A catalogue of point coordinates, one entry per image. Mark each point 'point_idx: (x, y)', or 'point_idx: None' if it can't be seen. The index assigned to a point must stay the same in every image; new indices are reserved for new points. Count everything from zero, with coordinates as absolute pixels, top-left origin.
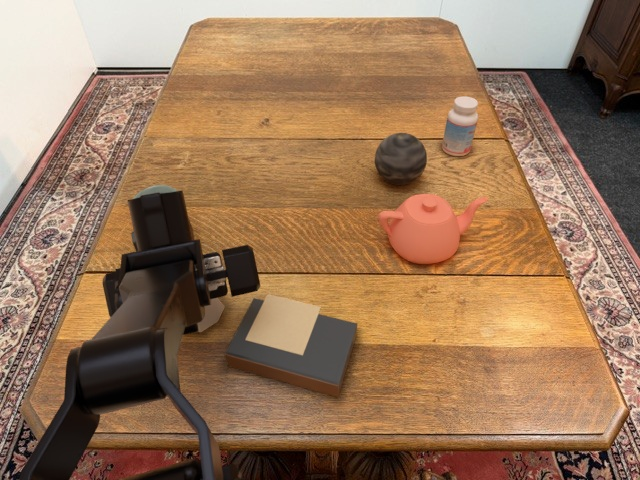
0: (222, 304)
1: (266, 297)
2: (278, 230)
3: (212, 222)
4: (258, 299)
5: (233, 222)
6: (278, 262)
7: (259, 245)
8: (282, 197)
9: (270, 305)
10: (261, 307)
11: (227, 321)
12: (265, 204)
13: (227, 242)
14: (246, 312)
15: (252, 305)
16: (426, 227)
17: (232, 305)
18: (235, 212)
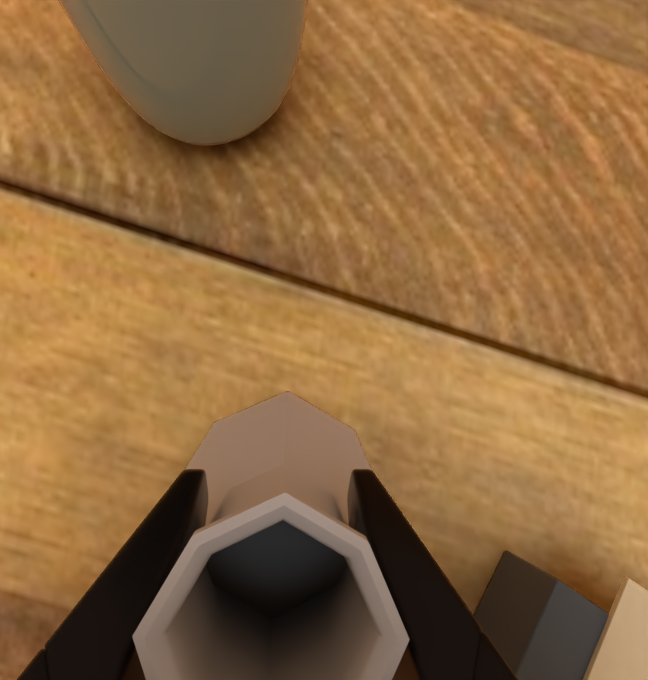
0: None
1: (623, 604)
2: (619, 172)
3: (383, 51)
4: (580, 598)
5: (460, 78)
6: (609, 328)
7: (545, 220)
8: (644, 25)
9: (639, 664)
10: (595, 664)
11: None
12: (582, 35)
13: (429, 166)
14: (517, 670)
15: (550, 632)
16: None
17: (415, 496)
18: (472, 34)
